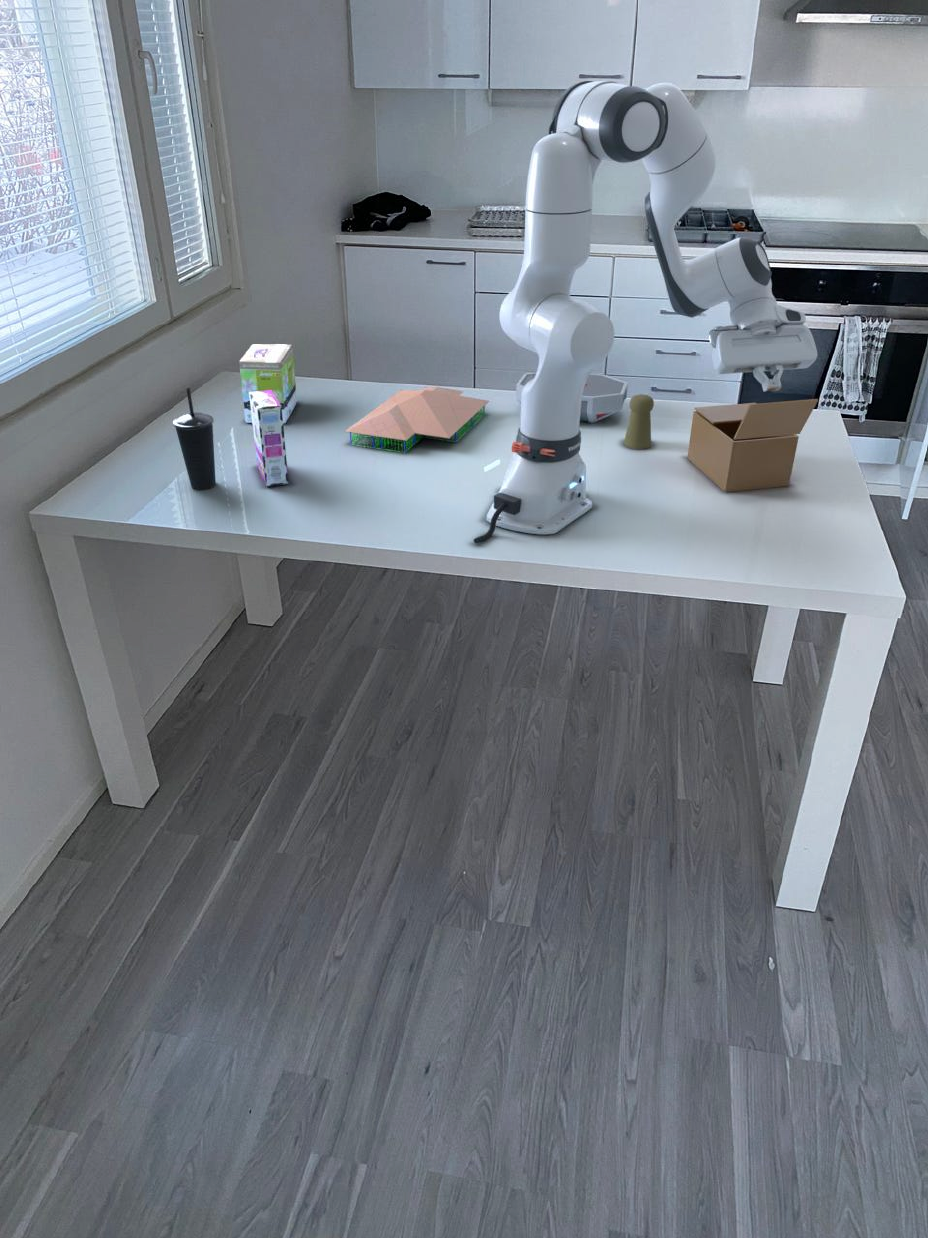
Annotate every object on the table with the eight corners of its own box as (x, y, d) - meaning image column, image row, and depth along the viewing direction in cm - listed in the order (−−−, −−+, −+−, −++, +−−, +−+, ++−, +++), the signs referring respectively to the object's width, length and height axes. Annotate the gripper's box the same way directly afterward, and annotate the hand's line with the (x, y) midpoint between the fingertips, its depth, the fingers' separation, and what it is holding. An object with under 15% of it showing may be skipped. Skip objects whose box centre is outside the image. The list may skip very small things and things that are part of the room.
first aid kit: (511, 421, 220) (617, 431, 214) (512, 390, 216) (620, 399, 210) (527, 397, 234) (627, 406, 229) (528, 368, 230) (630, 376, 225)
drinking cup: (189, 495, 184) (172, 397, 174) (180, 481, 190) (163, 385, 180) (227, 488, 187) (213, 390, 177) (217, 474, 193) (203, 379, 182)
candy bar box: (290, 484, 189) (282, 405, 180) (266, 487, 188) (256, 408, 179) (280, 464, 198) (272, 388, 189) (256, 467, 197) (247, 390, 188)
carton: (788, 485, 189) (799, 432, 183) (725, 492, 186) (733, 438, 180) (746, 452, 204) (755, 402, 198) (687, 458, 201) (694, 407, 195)
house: (492, 410, 226) (493, 377, 222) (441, 459, 200) (441, 423, 196) (406, 399, 233) (405, 366, 229) (345, 445, 207) (343, 409, 203)
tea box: (287, 424, 218) (281, 361, 210) (244, 423, 218) (236, 360, 210) (298, 402, 231) (292, 342, 223) (257, 402, 231) (250, 342, 223)
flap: (799, 432, 183) (799, 433, 183) (733, 438, 180) (734, 439, 180) (817, 398, 176) (818, 400, 175) (749, 404, 173) (750, 405, 173)
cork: (654, 441, 209) (659, 393, 203) (647, 451, 204) (652, 402, 199) (628, 437, 211) (632, 389, 205) (620, 446, 207) (624, 398, 201)
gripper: (713, 318, 175) (729, 385, 173) (812, 312, 179) (829, 378, 176) (700, 335, 181) (715, 401, 179) (795, 329, 185) (812, 393, 182)
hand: (772, 389), depth 178 cm, fingers closed
